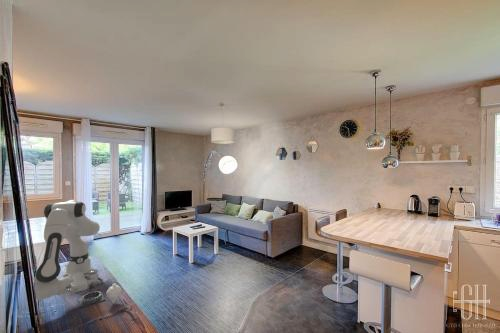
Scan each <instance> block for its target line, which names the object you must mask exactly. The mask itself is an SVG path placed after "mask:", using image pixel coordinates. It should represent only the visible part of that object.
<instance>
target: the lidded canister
mask: <svg viewBox="0 0 500 333" xmlns="http://www.w3.org/2000/svg"><path fill="white" fill-rule="evenodd" d="M98 272H99V270H98V269H97V268H93V269H92V270H89V271H88V273H86V275H87V274H88V277H87V280H90V279H91V278H95V282H92V283H90V284H88V287H87V289H86V290H93V289H96V288H97V287H98V286H97V285H98V284H97V282H98V280H97V273H98Z"/></svg>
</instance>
